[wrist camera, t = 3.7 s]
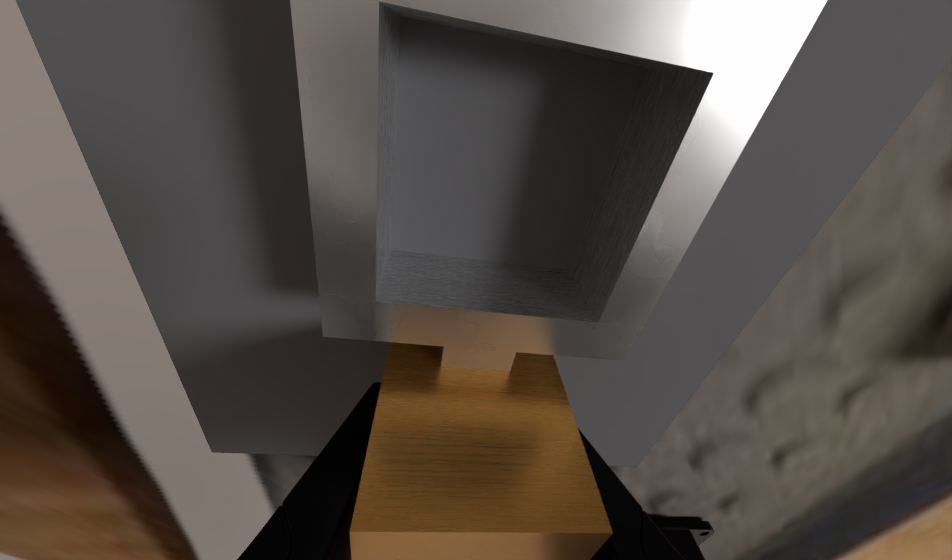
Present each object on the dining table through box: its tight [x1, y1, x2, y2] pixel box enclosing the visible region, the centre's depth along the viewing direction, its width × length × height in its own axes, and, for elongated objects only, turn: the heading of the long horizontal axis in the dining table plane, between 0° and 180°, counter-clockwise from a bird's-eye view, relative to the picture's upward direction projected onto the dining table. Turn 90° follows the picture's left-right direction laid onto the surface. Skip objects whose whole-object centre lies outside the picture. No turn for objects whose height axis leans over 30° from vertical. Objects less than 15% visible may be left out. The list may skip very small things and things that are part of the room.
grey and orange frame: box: [290, 0, 827, 560], centre depth 7 cm, size 14×6×5 cm, turn 170°
